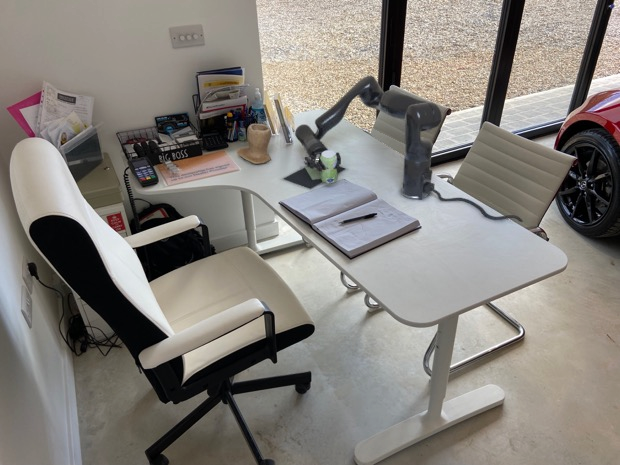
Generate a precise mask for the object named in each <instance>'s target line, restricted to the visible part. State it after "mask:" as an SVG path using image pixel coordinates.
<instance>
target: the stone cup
mask: <svg viewBox="0 0 620 465" xmlns="http://www.w3.org/2000/svg"><path fill="white" fill-rule="evenodd" d="M246 131H247V132H246V137H247V142H248V146H247V147H242V148H239V149H238V150H237V151H236V154H237V156H240V158H243V159H244V160H246V161H248V162H249V163H252V164H255V165H259V164H264V163H267V162H269V161H271V159H272V158H271V156H270V155H269V154H268V148H269V144H270V142H271V138H272V129H271V128H270V127H269V126H268V125H265V124H263V123H251V124H250V125H249V126H248V127H247V130H246Z"/></svg>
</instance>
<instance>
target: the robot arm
mask: <svg viewBox="0 0 620 465" xmlns="http://www.w3.org/2000/svg"><path fill="white" fill-rule="evenodd" d="M357 97H359V99H360V101H361V102H362V104H363V105H364V106H366V107H367V108H370V109H374V110H377V111H380V112H382V113H384V114H386V115H387V116H390V117H392V118H394V119H400V120H404V157H403V169H402V170H403V172H402V174H403V175H402V182H401V195H402V196H404V197H405V198H407V199H412V200H424V199H425V198H426V197H427V196H429V195H430V194H431V193H435V194H436V195H437V197H438V199H439V200H440V201H442V202H457V201H461V202H465V203H468V204H470V205H472V206H474V207H475V208H477V209H478V210H479V211H480V212H481V213H482V214H483V216H485V217H486V218H488V219H491V220H494V221H495V220H497V221H499V220H506V219H514V220H517V221H518V222H520V223H523V222H524V221H523V219H522V218H521V217H519V216H517V215H514V214H507V215H502V216H494V215H490V214H489V213H487V212H486V211H485V209H484V208H483V207H482V206H481V205H479V204H477V203H476V202H474V201H472V200H470V199H469V198H464V197H452V198H444V197H442V194H441V193H440V192H439V191H438V190H437V189H435V183H433V182H432V178H433V177H432V176H433V170H432V169H431V163H432V156H433V155H432V154H433V147H434V146H433V145H434V144H433V141H432V140H431V139H429V138H426V137H423V136H421V132H426V131H432V130H435V129H436V128H438V127H439V126H440V124H441V123H442V119H443V113H442V110H441V108H440V107H439V106H438V105H437V103H435V102H432V101H427V100H422V99H418V98H416V97H413V96H411V95H409V94H406V93H404V92H402V91H400V90H397V89H388V90H386V91H384V90H383V88H382V86H380V84H379V83H378V81H377V79H376V77H375V76H373V75H366V76H364V77H363V78H361V79H360V80H359V81H357V82H356V83H355V84H354V85H353V86H352V87H351V88H350V89H349V90H348V91H347V92H345V94H344V95H343V96H342V97H341V98H340V99H339V100H338V101H336V102H335V104H334V105H332V106H331V107H330V108H329V109H327V110H326V111H325V112H323V113H322V114H321V115H320V116H318V117H317V118H316V119H315V120H314V124H315V127H316V131H315V132H314V130H313V129H312V128H311V127H310V126H309V125H308V124H300V125H298V126H297V127H296V129H295V131H294V136H295V138H296V139H297V140H298V141H299V143H300V144H301V145H302V146H303V149H304V150H305V152H306V155H307V156H304V158H303V159H304V165H306V167H307V166H308V167H309V168H310V169H312V168H313V167H315V169H317V171H320V172H322V166H321V165H320V156H321V154H322V152H324V151H326V150H329V149H328V147H326V145H325V143H323V141H321V140H322V139H323V138H324V136H325V135H326V134H327V133H328V132H330V131H331V130H332V129H333V128H335V127H336V126H338V125H339V124H340V123H341V122H342V120H343V119H344V117H345V114H346V112H347V110H348V108H349V106H350V105H351V103H352V102H353V100H354V99H356V98H357ZM335 154H336V156H337V165H336V170H338V169H339V167H340V165H342V157H341V154H340V152H338V151H337V152H335Z"/></svg>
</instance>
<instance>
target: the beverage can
mask: <svg viewBox="0 0 620 465" xmlns="http://www.w3.org/2000/svg"><path fill="white" fill-rule="evenodd" d="M320 165H321V166H322V172H321V180H322V181H323V182H322V183H325V184H333V183H335V182H336V181H337V180H338V174H337V170H336V165H337V156H336V152H335V151H334V150H331V149H328V150H326V151H324V152H322V154H321V156H320Z"/></svg>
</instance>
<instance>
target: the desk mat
mask: <svg viewBox="0 0 620 465" xmlns="http://www.w3.org/2000/svg"><path fill="white" fill-rule="evenodd" d="M344 171H346V167H343V166H339V169H338V170H337V175H338V174H339V173H342V172H344ZM283 181H287V182H290V183H293V184H296V185H298V186H301V187H304V188H307V189H309V190H311V189H313V188H315V187H317V186H319V185H320V184H322V183H324V182H323V181H322V180H321V172H320V171H317V169H315V167H313V168H312V169H310V168H309V167H308V166H307V165H306V166H305V167H303V168H301V169H299V170H297V171H295V172H293V173H291V174H289V175H288V176H285V177H283Z"/></svg>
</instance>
